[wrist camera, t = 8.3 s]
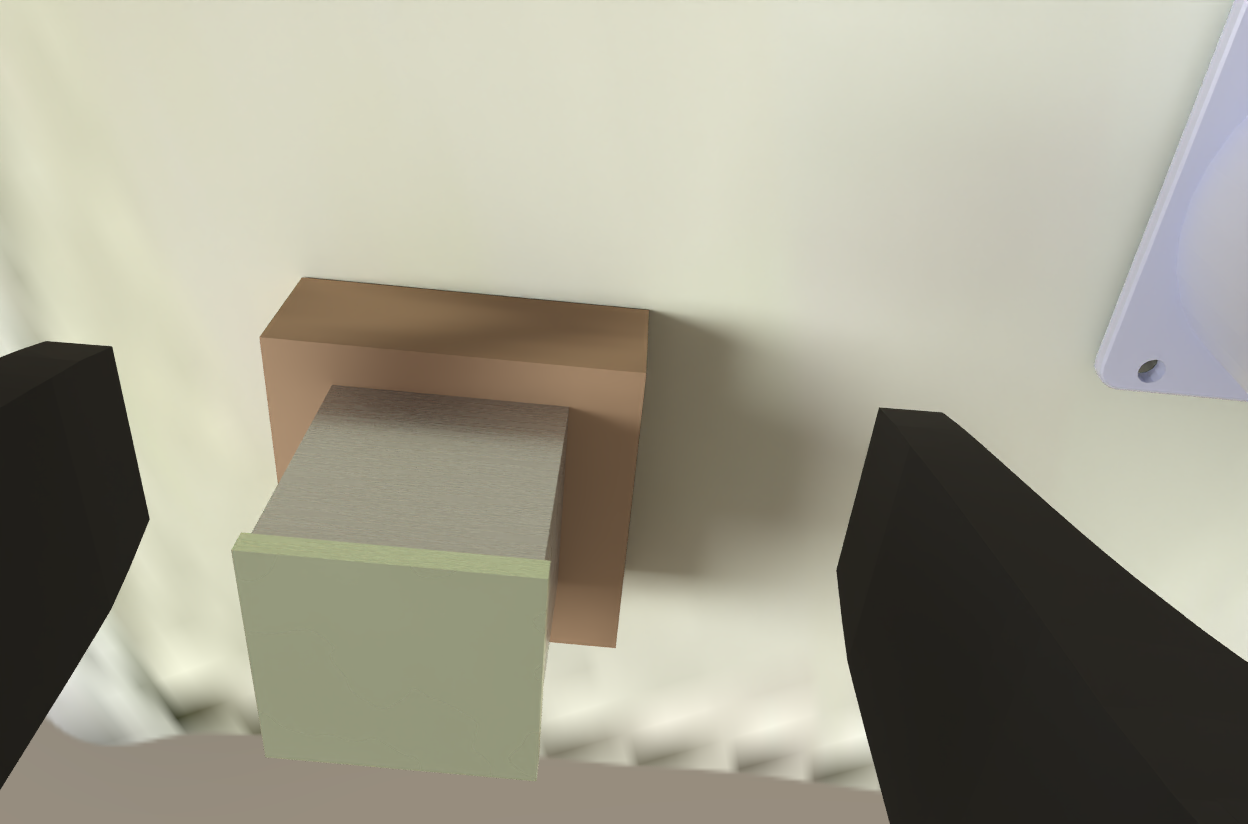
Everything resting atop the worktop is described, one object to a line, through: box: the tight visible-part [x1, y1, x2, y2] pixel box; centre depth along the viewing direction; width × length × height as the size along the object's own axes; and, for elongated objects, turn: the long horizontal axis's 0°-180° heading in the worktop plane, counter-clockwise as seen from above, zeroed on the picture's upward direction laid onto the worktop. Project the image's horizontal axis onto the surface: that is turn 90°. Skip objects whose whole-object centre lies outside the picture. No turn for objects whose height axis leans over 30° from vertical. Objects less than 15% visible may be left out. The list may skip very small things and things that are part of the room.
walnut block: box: [260, 278, 649, 648], centre depth 21 cm, size 7×7×2 cm
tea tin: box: [231, 385, 569, 781], centre depth 18 cm, size 5×5×5 cm
